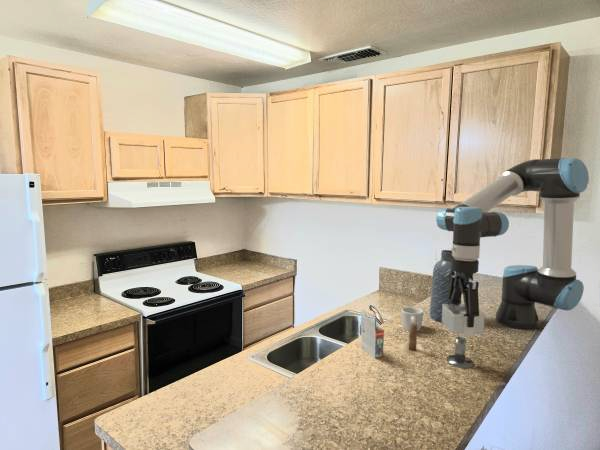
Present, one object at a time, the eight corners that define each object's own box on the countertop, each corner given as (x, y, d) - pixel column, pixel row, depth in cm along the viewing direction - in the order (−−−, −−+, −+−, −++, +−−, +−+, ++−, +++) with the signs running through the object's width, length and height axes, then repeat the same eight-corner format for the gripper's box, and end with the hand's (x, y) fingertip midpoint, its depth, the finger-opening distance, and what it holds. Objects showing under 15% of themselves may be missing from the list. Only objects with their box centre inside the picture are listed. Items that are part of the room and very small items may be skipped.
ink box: (369, 349, 130) (370, 307, 128) (383, 359, 123) (385, 315, 121) (360, 351, 128) (361, 309, 126) (374, 361, 121) (375, 317, 119)
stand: (420, 346, 131) (421, 320, 130) (428, 357, 124) (429, 329, 122) (397, 346, 131) (398, 320, 130) (403, 357, 123) (404, 329, 122)
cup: (424, 338, 138) (425, 317, 137) (401, 336, 140) (402, 315, 139) (421, 327, 149) (422, 307, 148) (400, 325, 150) (400, 305, 149)
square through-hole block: (469, 322, 122) (470, 303, 121) (483, 333, 113) (484, 313, 112) (441, 322, 122) (442, 304, 121) (453, 333, 113) (454, 314, 112)
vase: (431, 311, 166) (434, 247, 163) (461, 315, 161) (464, 249, 158) (427, 320, 156) (430, 252, 152) (460, 325, 150) (463, 255, 147)
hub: (466, 359, 122) (467, 333, 121) (477, 371, 115) (478, 344, 114) (442, 359, 122) (443, 334, 121) (452, 371, 115) (453, 344, 114)
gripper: (439, 251, 125) (436, 317, 128) (468, 266, 104) (464, 345, 106) (462, 251, 125) (458, 317, 128) (496, 266, 104) (491, 345, 106)
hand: (461, 330), depth 117 cm, fingers closed on square through-hole block, 9 cm apart
